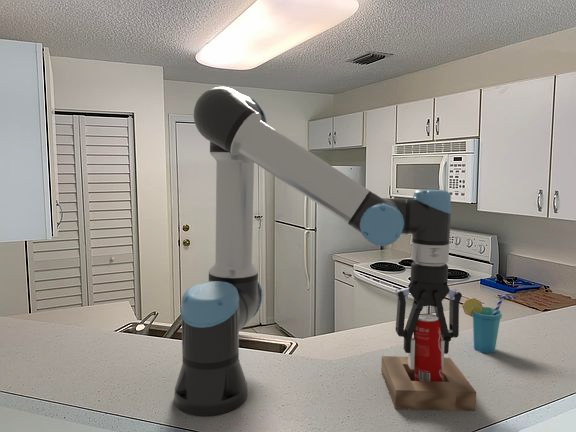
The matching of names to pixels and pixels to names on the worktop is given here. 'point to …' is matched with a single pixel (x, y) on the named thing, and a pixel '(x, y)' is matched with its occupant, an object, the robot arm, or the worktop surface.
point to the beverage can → (428, 349)
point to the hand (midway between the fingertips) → (425, 366)
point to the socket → (427, 387)
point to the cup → (484, 323)
